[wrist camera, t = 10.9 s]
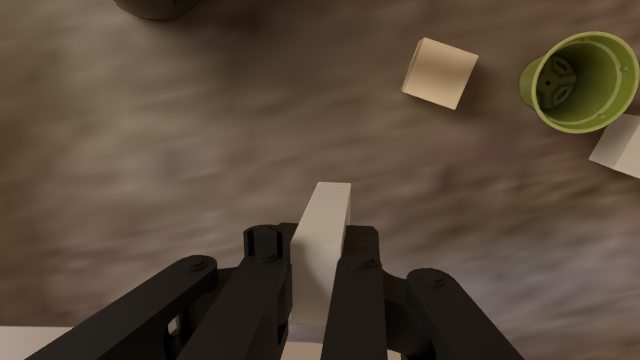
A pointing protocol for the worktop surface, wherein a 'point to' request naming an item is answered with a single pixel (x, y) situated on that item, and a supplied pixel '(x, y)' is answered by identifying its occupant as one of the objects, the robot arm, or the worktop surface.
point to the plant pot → (582, 82)
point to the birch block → (438, 73)
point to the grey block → (620, 145)
